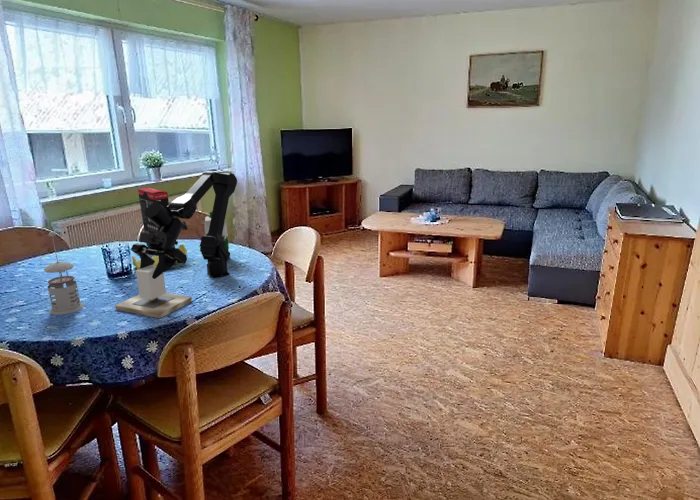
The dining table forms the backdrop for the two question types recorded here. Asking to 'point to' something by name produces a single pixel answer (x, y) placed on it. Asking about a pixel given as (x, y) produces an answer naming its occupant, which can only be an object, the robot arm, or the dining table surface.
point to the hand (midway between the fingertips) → (146, 277)
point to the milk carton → (224, 234)
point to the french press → (62, 288)
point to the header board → (154, 305)
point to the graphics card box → (146, 199)
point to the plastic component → (157, 258)
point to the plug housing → (150, 283)
